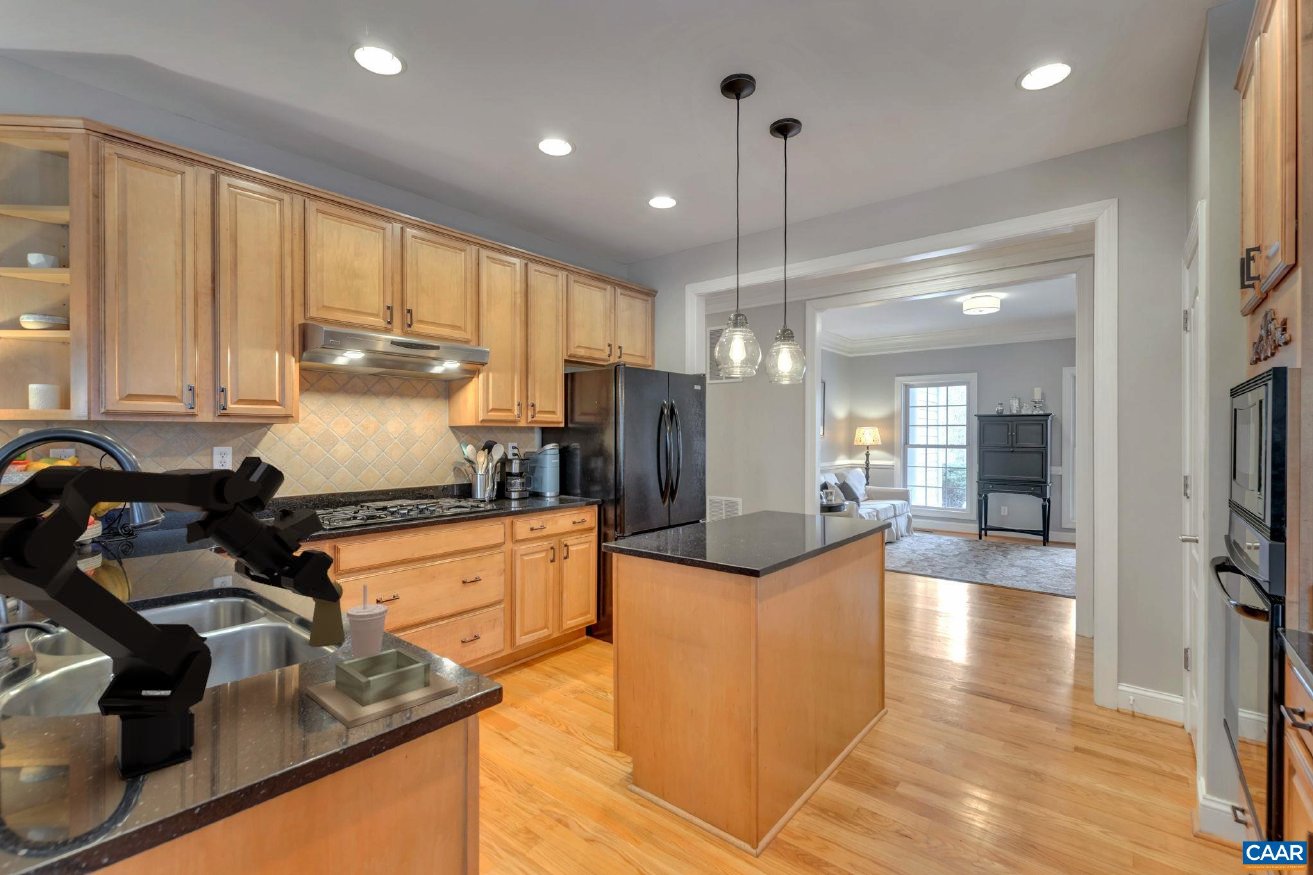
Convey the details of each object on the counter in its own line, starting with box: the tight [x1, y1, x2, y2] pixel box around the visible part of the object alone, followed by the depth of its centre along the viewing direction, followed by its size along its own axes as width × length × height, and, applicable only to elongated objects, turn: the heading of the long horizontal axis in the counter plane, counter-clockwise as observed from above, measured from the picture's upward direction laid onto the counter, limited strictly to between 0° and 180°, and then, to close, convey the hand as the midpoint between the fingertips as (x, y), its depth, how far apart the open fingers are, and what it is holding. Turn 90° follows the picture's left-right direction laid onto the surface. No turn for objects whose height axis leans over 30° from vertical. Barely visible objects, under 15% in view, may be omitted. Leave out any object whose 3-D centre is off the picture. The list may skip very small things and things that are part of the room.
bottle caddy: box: [306, 647, 459, 729], centre depth 92 cm, size 16×16×4 cm
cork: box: [308, 582, 346, 648], centre depth 115 cm, size 6×6×11 cm
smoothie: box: [346, 583, 389, 659], centre depth 103 cm, size 6×6×14 cm
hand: (321, 595), depth 96 cm, fingers open, 9 cm apart
